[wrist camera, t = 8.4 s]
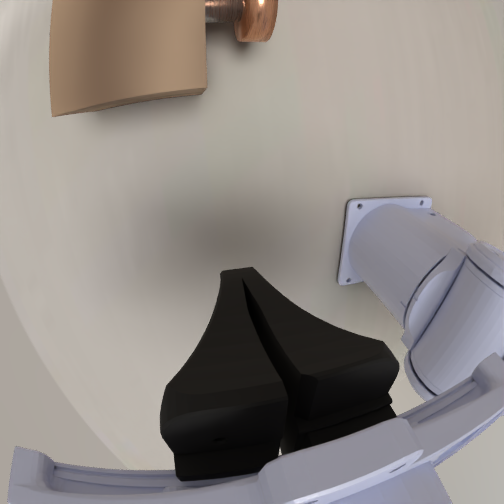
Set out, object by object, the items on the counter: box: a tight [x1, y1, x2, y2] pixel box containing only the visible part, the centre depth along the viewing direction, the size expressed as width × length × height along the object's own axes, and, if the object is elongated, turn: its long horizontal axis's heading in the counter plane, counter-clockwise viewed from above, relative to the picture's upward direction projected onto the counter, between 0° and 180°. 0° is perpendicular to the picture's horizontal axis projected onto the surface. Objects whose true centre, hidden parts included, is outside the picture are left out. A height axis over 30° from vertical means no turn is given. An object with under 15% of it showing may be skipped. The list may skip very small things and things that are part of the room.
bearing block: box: [49, 0, 207, 117], centre depth 10 cm, size 7×10×7 cm
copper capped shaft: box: [205, 0, 278, 42], centre depth 10 cm, size 11×4×4 cm, turn 92°
